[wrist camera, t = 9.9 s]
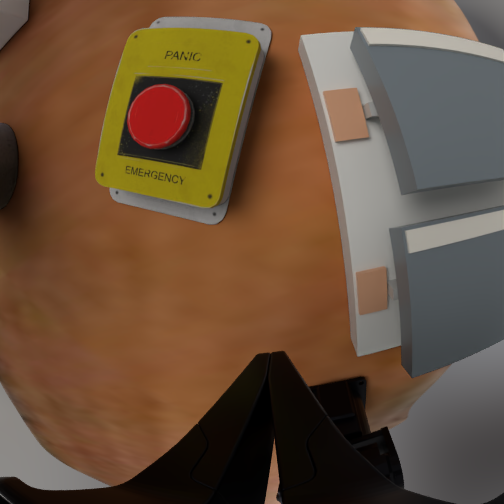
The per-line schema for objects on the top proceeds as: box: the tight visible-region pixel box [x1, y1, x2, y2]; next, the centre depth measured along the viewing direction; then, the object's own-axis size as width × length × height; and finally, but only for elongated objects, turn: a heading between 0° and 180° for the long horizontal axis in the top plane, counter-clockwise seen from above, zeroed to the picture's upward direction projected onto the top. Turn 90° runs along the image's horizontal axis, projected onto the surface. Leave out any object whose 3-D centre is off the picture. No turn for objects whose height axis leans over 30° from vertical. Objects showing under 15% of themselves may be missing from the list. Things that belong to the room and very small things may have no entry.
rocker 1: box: [350, 27, 504, 195], centre depth 10 cm, size 9×12×2 cm
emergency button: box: [95, 17, 271, 224], centre depth 15 cm, size 9×4×15 cm
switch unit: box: [298, 32, 504, 357], centre depth 15 cm, size 22×15×4 cm
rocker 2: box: [389, 205, 504, 378], centre depth 13 cm, size 9×12×2 cm
